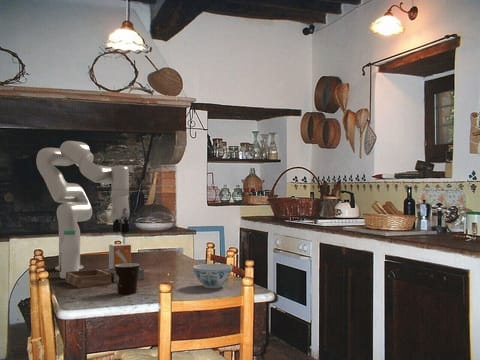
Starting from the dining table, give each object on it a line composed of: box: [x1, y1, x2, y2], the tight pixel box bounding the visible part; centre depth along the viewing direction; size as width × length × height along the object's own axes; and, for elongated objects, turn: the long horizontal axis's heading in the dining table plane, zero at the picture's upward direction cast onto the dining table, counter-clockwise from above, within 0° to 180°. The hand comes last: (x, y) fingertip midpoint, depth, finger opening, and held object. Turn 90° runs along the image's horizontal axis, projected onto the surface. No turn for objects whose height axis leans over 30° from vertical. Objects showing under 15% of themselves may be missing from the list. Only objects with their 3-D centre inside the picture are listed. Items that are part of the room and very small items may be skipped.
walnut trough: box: [65, 268, 112, 289], centre depth 198 cm, size 16×13×4 cm
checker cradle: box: [103, 267, 145, 283], centre depth 207 cm, size 11×13×4 cm
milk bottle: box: [59, 230, 80, 280], centre depth 212 cm, size 8×8×20 cm
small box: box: [108, 243, 132, 269], centre depth 221 cm, size 8×6×13 cm
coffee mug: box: [115, 262, 140, 296], centre depth 177 cm, size 12×9×10 cm
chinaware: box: [192, 263, 233, 289], centre depth 190 cm, size 15×15×8 cm
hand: (120, 232), depth 221 cm, fingers open, 9 cm apart
